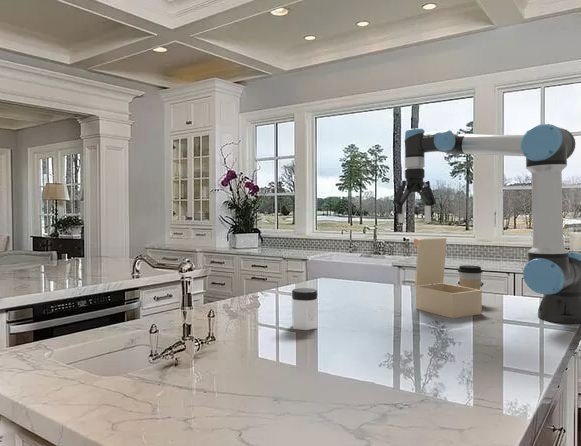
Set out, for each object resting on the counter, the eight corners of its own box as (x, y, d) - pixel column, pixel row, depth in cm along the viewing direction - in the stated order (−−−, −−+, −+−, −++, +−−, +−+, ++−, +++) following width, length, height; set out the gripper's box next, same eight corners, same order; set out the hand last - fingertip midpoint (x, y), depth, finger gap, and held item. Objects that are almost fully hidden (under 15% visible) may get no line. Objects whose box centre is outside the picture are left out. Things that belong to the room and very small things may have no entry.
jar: (300, 331, 152) (300, 293, 152) (286, 326, 159) (286, 289, 159) (323, 327, 157) (323, 290, 157) (308, 322, 164) (308, 287, 164)
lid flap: (446, 238, 187) (429, 235, 195) (419, 239, 181) (403, 236, 189) (443, 282, 189) (427, 278, 197) (416, 285, 183) (400, 280, 191)
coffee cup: (486, 306, 189) (486, 268, 188) (461, 306, 189) (461, 268, 188) (477, 302, 198) (477, 265, 198) (453, 302, 198) (454, 265, 198)
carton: (481, 315, 174) (481, 290, 173) (452, 319, 167) (452, 293, 167) (443, 306, 190) (443, 283, 189) (416, 310, 183) (416, 286, 183)
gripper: (431, 170, 203) (431, 221, 204) (383, 168, 191) (383, 222, 192) (444, 168, 196) (444, 221, 197) (396, 166, 185) (396, 223, 185)
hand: (414, 222), depth 194 cm, fingers open, 13 cm apart
